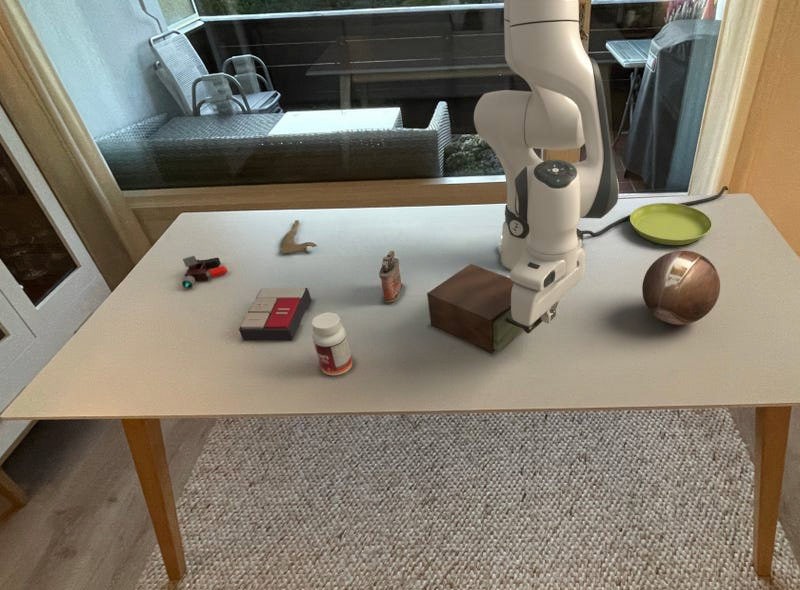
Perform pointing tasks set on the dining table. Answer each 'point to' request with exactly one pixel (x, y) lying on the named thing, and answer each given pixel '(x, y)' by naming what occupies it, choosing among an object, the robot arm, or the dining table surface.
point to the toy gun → (201, 270)
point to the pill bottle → (331, 344)
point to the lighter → (391, 278)
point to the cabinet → (470, 305)
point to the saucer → (670, 223)
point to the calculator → (275, 314)
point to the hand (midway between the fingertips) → (548, 318)
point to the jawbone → (289, 244)
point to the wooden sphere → (681, 287)
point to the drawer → (508, 329)
